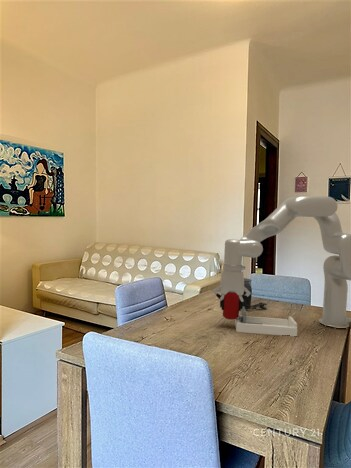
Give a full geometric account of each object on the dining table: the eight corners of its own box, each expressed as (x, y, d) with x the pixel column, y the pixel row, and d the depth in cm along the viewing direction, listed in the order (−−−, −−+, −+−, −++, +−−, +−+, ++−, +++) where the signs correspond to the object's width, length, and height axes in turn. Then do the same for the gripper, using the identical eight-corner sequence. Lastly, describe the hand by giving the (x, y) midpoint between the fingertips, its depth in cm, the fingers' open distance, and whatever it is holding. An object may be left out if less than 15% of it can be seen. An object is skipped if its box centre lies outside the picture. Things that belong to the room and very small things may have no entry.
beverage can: (237, 316, 142) (238, 288, 141) (239, 320, 135) (240, 292, 134) (222, 315, 142) (223, 288, 142) (223, 319, 136) (224, 291, 135)
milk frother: (229, 305, 174) (230, 278, 174) (251, 302, 182) (253, 276, 181) (246, 312, 162) (248, 283, 161) (270, 309, 169) (271, 281, 168)
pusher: (261, 323, 141) (261, 307, 141) (264, 329, 133) (264, 313, 132) (241, 321, 142) (242, 306, 142) (243, 328, 134) (243, 312, 133)
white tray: (290, 327, 141) (291, 316, 141) (296, 336, 130) (297, 324, 130) (234, 323, 144) (235, 311, 144) (236, 331, 133) (237, 319, 133)
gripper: (252, 268, 140) (250, 308, 141) (212, 266, 142) (210, 306, 143) (254, 270, 133) (252, 313, 134) (212, 268, 135) (210, 310, 136)
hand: (231, 309), depth 138 cm, fingers closed on beverage can, 6 cm apart
